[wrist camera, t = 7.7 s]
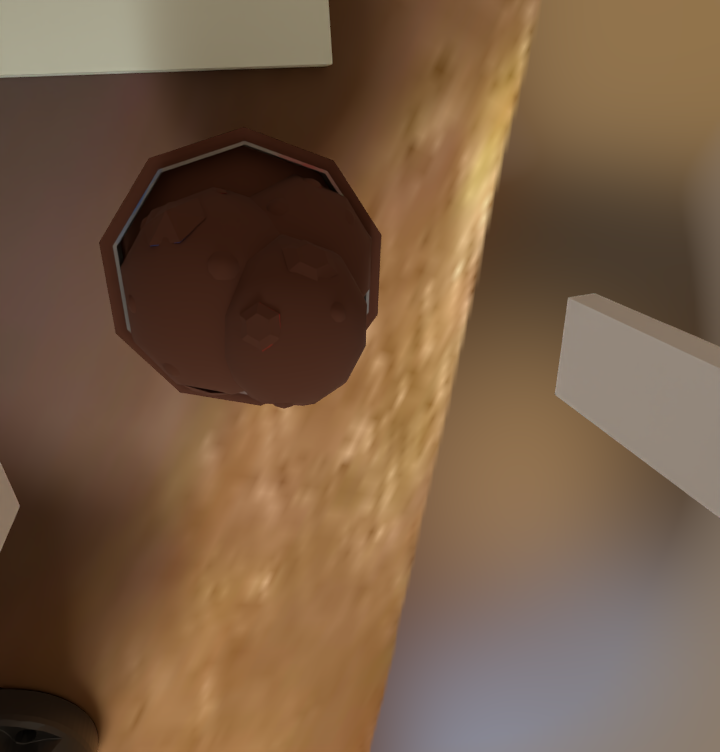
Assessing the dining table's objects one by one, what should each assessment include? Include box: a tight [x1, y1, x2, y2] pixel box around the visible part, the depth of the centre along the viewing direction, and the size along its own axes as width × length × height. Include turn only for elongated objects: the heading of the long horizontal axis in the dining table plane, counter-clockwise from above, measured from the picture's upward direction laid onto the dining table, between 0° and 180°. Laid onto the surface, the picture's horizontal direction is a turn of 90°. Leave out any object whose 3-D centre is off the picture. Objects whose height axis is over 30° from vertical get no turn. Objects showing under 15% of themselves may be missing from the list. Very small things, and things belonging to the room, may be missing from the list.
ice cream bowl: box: [99, 127, 381, 408], centre depth 22 cm, size 11×11×15 cm
